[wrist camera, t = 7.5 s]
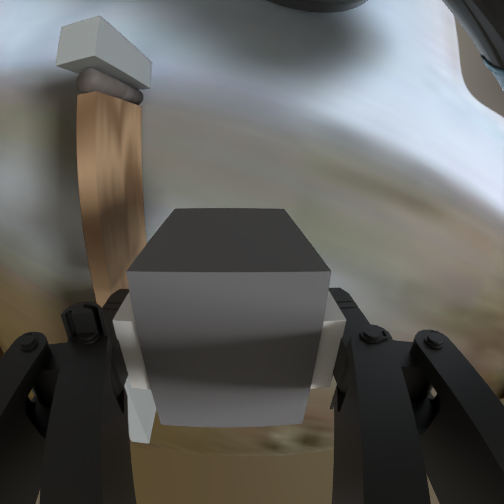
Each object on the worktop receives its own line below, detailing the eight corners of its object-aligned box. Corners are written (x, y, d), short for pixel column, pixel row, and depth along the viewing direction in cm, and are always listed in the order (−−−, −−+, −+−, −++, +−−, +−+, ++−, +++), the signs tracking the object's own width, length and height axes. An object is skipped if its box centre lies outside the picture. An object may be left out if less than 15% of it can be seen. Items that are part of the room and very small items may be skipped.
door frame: (125, 65, 20) (61, 27, 9) (151, 62, 20) (100, 15, 10) (149, 361, 30) (127, 440, 20) (170, 363, 30) (153, 443, 20)
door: (127, 91, 20) (77, 70, 12) (143, 89, 20) (99, 65, 12) (137, 276, 26) (103, 333, 18) (151, 276, 26) (121, 334, 18)
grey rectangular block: (175, 208, 13) (126, 271, 7) (283, 208, 14) (331, 271, 7) (183, 320, 15) (161, 424, 9) (276, 319, 16) (302, 423, 9)
